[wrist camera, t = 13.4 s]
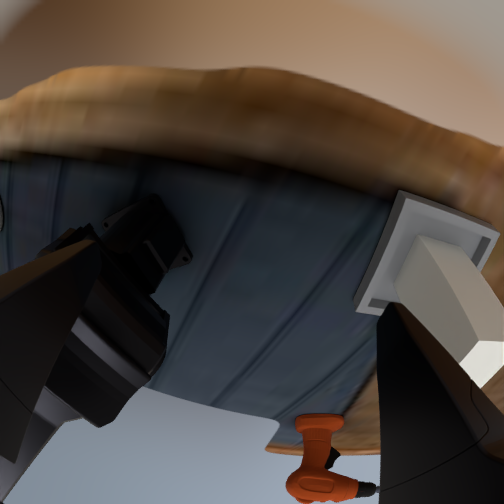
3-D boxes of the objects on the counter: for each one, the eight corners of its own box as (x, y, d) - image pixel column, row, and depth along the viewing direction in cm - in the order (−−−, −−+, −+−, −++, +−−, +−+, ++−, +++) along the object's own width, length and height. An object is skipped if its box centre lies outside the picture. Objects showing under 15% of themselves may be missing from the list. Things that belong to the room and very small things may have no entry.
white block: (393, 283, 22) (429, 394, 13) (417, 233, 20) (479, 340, 10) (436, 291, 22) (478, 390, 13) (460, 247, 20) (522, 342, 10)
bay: (352, 299, 24) (355, 311, 23) (398, 189, 18) (406, 198, 17) (441, 313, 24) (446, 324, 23) (491, 224, 18) (500, 233, 17)
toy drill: (397, 430, 37) (393, 507, 25) (294, 419, 40) (274, 501, 28) (410, 418, 34) (409, 501, 22) (299, 407, 38) (279, 498, 25)
